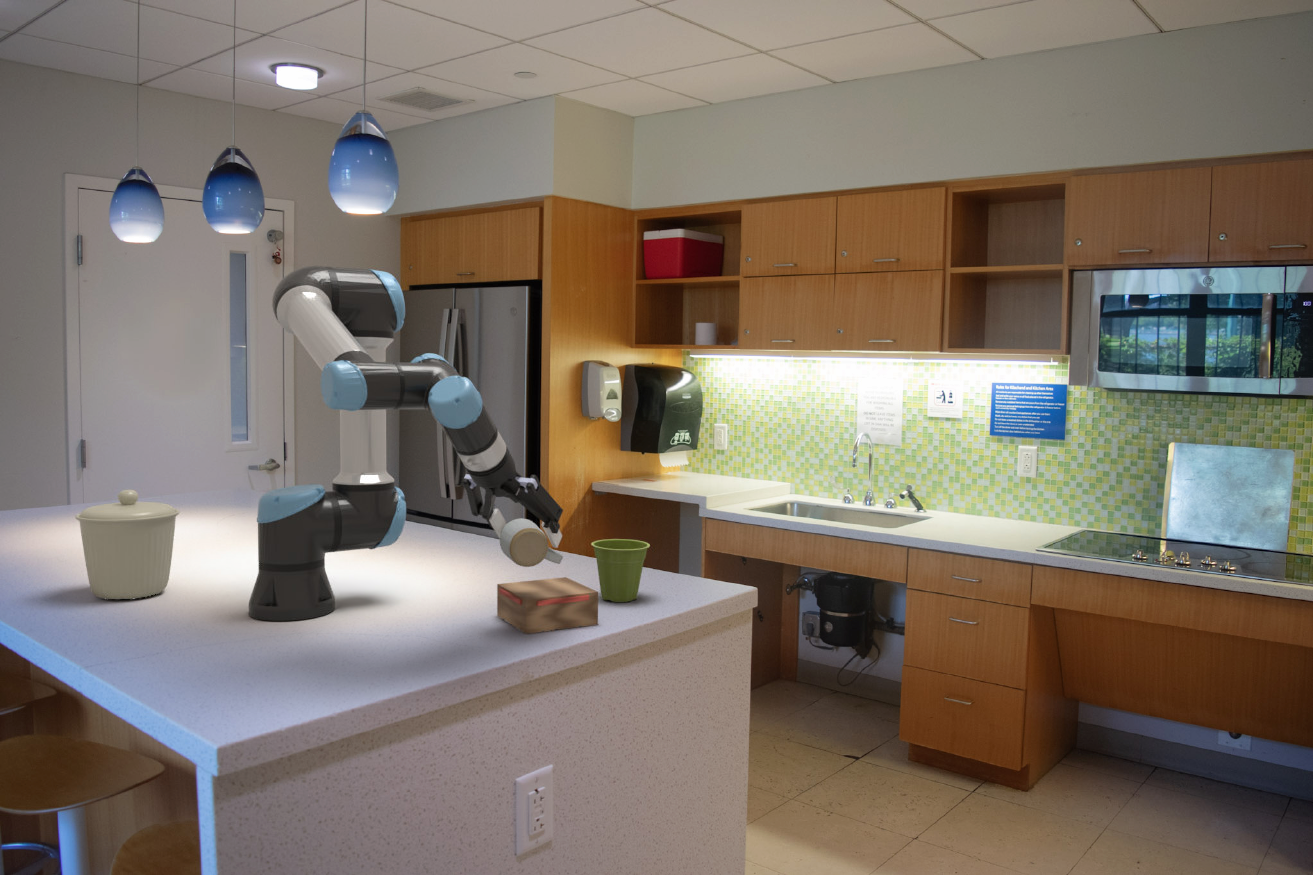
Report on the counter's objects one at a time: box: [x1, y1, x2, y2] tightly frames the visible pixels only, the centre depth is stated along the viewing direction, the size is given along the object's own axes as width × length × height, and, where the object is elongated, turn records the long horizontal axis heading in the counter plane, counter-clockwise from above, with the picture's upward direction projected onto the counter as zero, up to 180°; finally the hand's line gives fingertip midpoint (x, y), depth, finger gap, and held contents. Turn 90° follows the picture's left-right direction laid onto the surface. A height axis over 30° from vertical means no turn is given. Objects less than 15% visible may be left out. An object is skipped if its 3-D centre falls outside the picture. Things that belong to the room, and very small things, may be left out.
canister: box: [75, 489, 180, 600], centre depth 192 cm, size 18×18×21 cm
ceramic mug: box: [499, 517, 564, 568], centre depth 171 cm, size 11×8×8 cm
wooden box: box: [496, 576, 599, 635], centre depth 178 cm, size 14×14×6 cm
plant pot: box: [590, 538, 651, 603], centre depth 196 cm, size 12×12×11 cm
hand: (532, 539), depth 174 cm, fingers closed on ceramic mug, 10 cm apart
